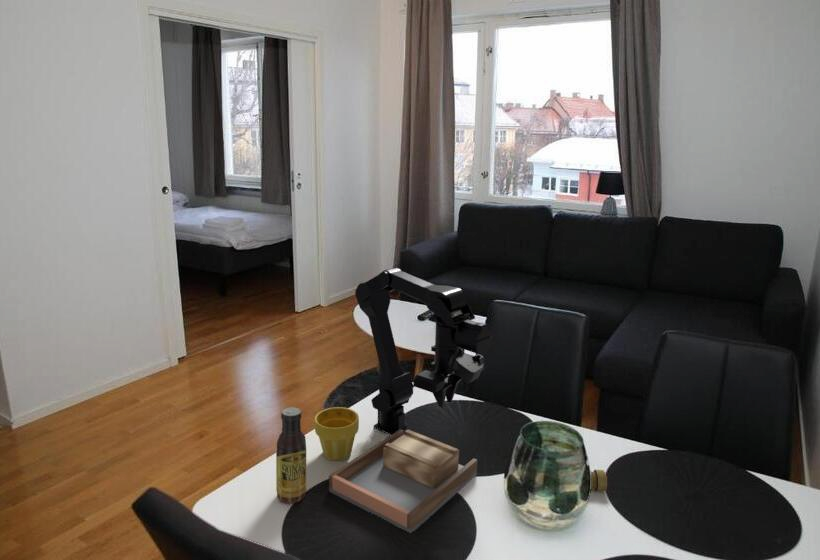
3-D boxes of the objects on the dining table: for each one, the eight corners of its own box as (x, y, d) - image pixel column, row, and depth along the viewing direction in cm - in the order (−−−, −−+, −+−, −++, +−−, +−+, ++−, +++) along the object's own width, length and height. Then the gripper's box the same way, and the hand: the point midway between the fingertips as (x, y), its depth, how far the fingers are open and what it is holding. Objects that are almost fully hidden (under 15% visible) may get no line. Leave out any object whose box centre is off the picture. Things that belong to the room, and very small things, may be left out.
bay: (329, 491, 128) (328, 475, 127) (400, 443, 147) (400, 429, 146) (410, 533, 115) (411, 516, 114) (476, 475, 134) (477, 459, 133)
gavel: (544, 431, 148) (584, 433, 148) (543, 448, 149) (583, 449, 149) (561, 474, 128) (608, 476, 127) (559, 493, 129) (606, 496, 128)
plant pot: (335, 471, 135) (335, 432, 133) (306, 454, 142) (305, 417, 139) (367, 452, 143) (367, 416, 140) (338, 437, 149) (337, 402, 147)
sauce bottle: (281, 509, 122) (277, 421, 117) (273, 492, 127) (269, 408, 122) (311, 500, 125) (309, 415, 119) (302, 484, 130) (299, 402, 125)
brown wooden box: (383, 465, 136) (383, 445, 134) (409, 447, 143) (409, 428, 142) (433, 488, 127) (434, 467, 126) (458, 467, 135) (459, 448, 134)
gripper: (455, 364, 124) (452, 431, 128) (498, 339, 138) (494, 400, 142) (412, 351, 130) (411, 415, 134) (458, 328, 145) (455, 387, 149)
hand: (445, 404), depth 140 cm, fingers open, 3 cm apart
